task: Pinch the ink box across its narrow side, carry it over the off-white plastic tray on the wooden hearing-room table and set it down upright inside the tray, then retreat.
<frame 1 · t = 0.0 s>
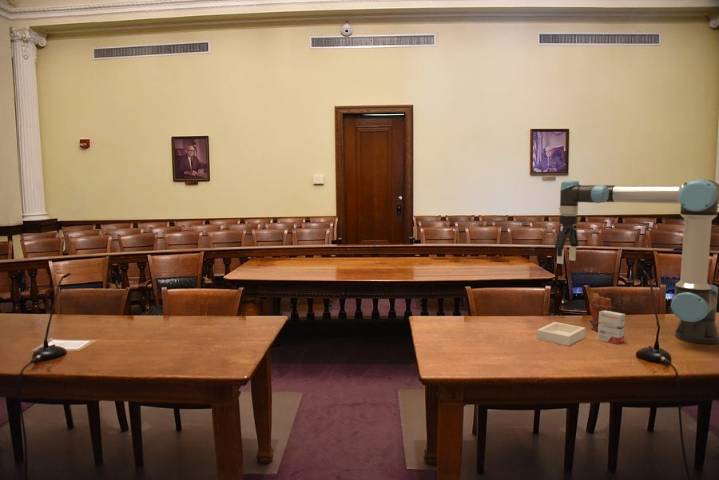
hand: (566, 262, 226), 28 cm above the table, fingers open, 13 cm apart
mug: (598, 329, 218), on the table
tray: (561, 337, 205), on the table
ink box: (610, 341, 201), on the table
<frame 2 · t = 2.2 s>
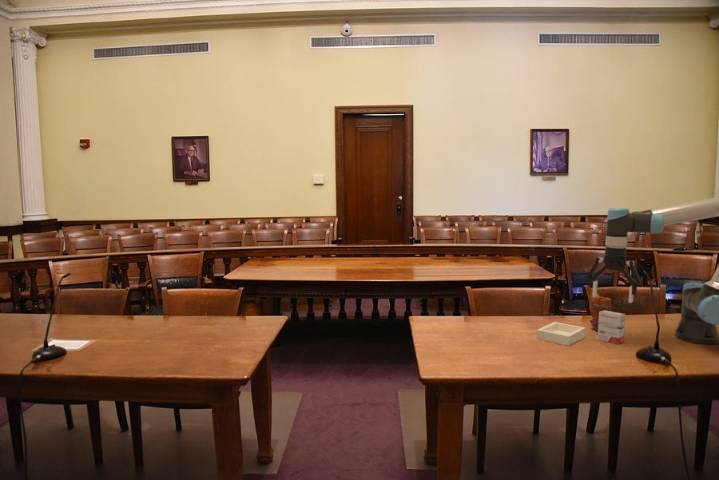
hand: (612, 299, 199), 17 cm above the table, fingers open, 13 cm apart
nothing on the table moved.
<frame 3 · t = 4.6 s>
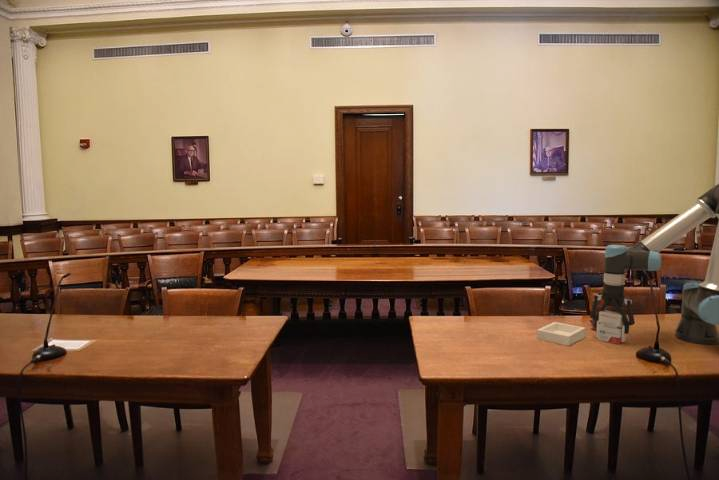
hand: (610, 338, 200), 1 cm above the table, fingers closed on ink box, 9 cm apart
ink box: (610, 341, 201), on the table, touching gripper
everything else where it was.
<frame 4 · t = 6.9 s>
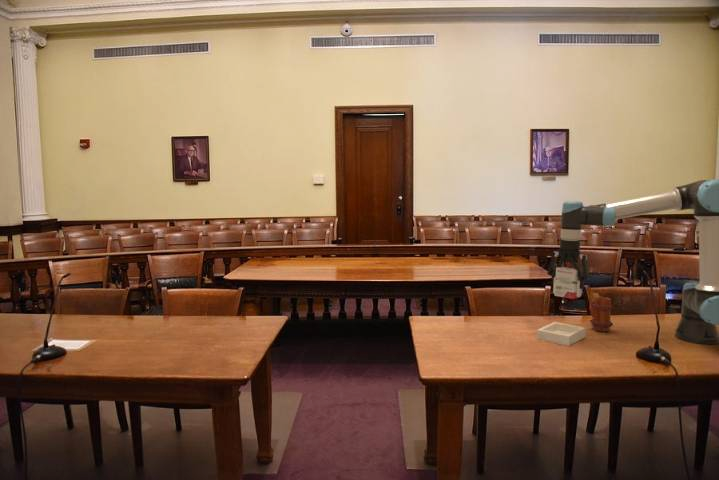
hand: (566, 294, 202), 18 cm above the table, fingers closed on ink box, 9 cm apart
ink box: (566, 297, 203), point 17 cm above the table, touching gripper
everything else where it was.
when the fingers open (4 cm above the table, at t = 9.4 s): ink box stays where it is, point 3 cm above the table.
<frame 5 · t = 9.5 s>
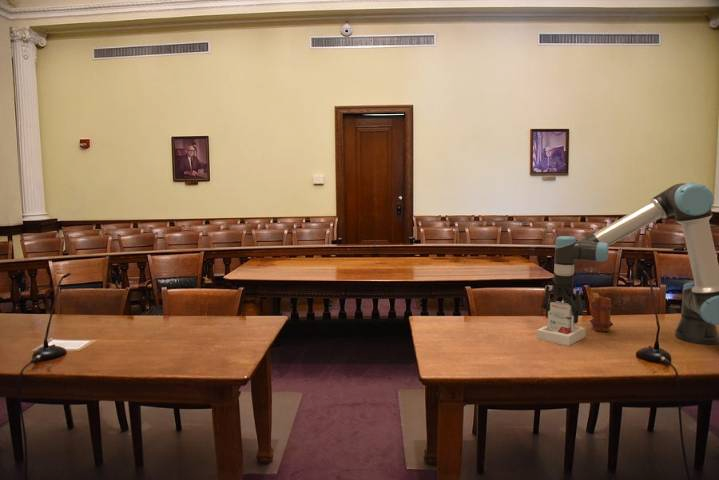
hand: (561, 328, 204), 4 cm above the table, fingers open, 9 cm apart
ink box: (560, 331, 204), point 3 cm above the table
everything else where it was.
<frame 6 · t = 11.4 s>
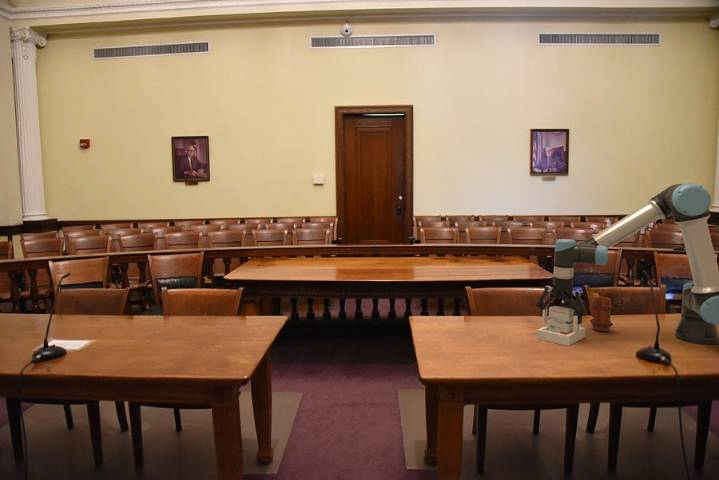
hand: (560, 327, 205), 4 cm above the table, fingers open, 13 cm apart
ink box: (560, 336, 205), point 1 cm above the table, touching tray
everything else where it was.
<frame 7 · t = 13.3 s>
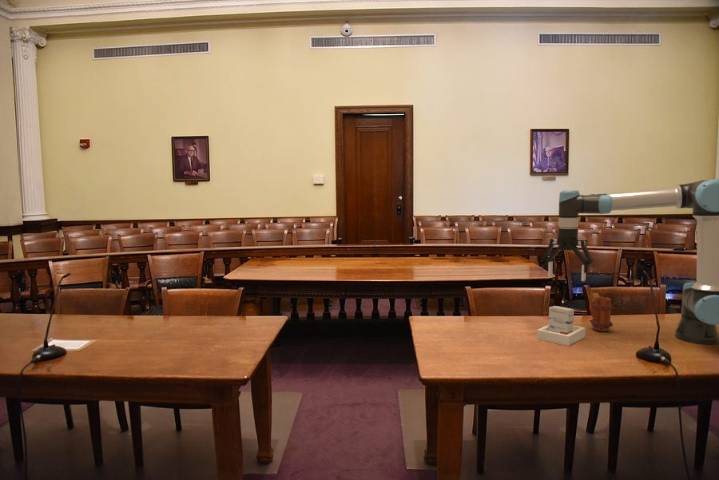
hand: (566, 278, 206), 24 cm above the table, fingers open, 13 cm apart
nothing on the table moved.
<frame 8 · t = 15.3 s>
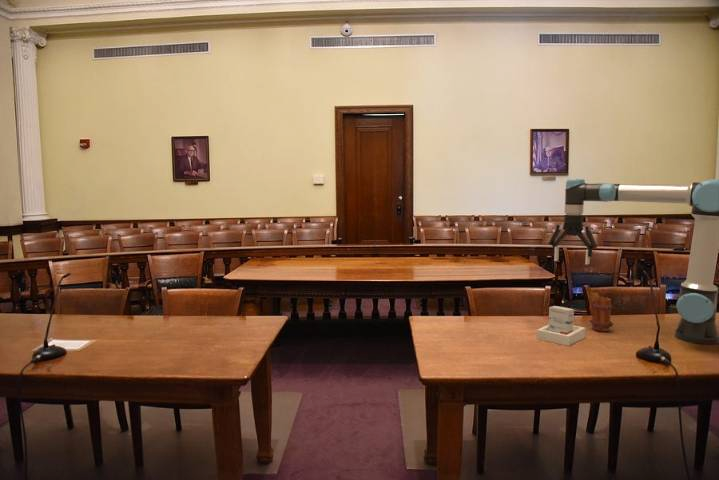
hand: (571, 262, 219), 29 cm above the table, fingers open, 13 cm apart
nothing on the table moved.
at the end: ink box inside the target area on the tray (0.3 cm from its centre), point 0.6 cm above the tray's base; ink box tilted 0°; the gripper is holding nothing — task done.
